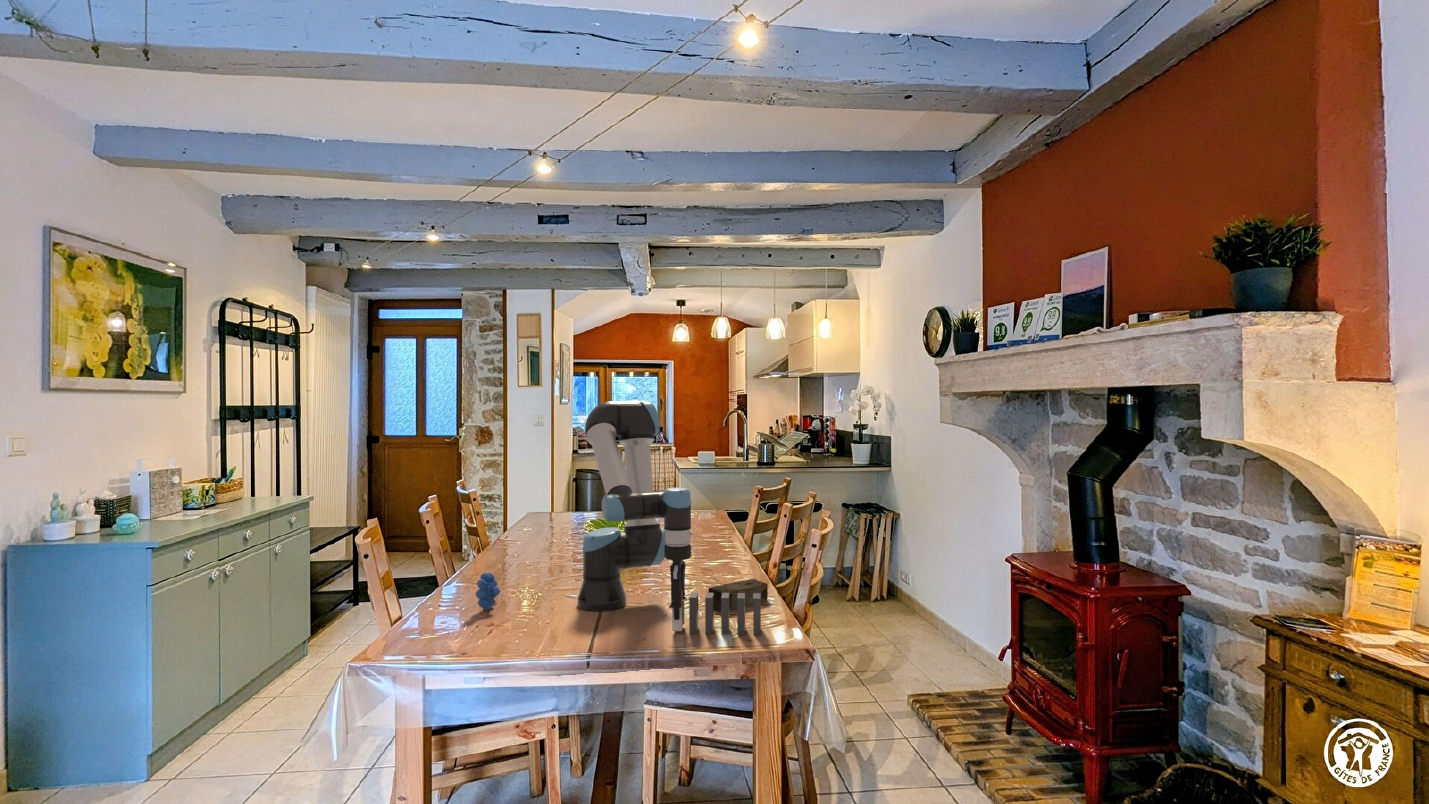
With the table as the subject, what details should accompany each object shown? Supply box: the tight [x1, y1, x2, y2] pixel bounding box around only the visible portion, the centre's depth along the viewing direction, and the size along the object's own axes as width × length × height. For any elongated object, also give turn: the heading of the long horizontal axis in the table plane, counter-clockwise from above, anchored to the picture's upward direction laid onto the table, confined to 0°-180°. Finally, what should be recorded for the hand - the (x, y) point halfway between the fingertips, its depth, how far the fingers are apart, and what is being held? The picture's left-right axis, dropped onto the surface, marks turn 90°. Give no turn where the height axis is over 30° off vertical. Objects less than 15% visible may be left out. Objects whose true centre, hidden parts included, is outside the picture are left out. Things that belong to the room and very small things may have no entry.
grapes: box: [475, 572, 501, 612], centre depth 210 cm, size 12×7×12 cm, turn 173°
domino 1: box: [688, 592, 699, 635], centre depth 191 cm, size 2×5×10 cm, turn 176°
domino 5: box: [752, 593, 762, 636], centre depth 190 cm, size 2×5×10 cm, turn 176°
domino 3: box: [720, 593, 730, 635], centre depth 191 cm, size 2×5×10 cm, turn 176°
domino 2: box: [704, 592, 715, 635], centre depth 191 cm, size 2×5×10 cm, turn 176°
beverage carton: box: [707, 578, 769, 612], centre depth 216 cm, size 8×19×7 cm, turn 129°
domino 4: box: [736, 593, 746, 636], centre depth 190 cm, size 2×5×10 cm, turn 176°
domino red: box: [681, 590, 684, 628], centre depth 191 cm, size 2×5×10 cm, turn 176°
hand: (678, 627), depth 191 cm, fingers closed on domino red, 5 cm apart
